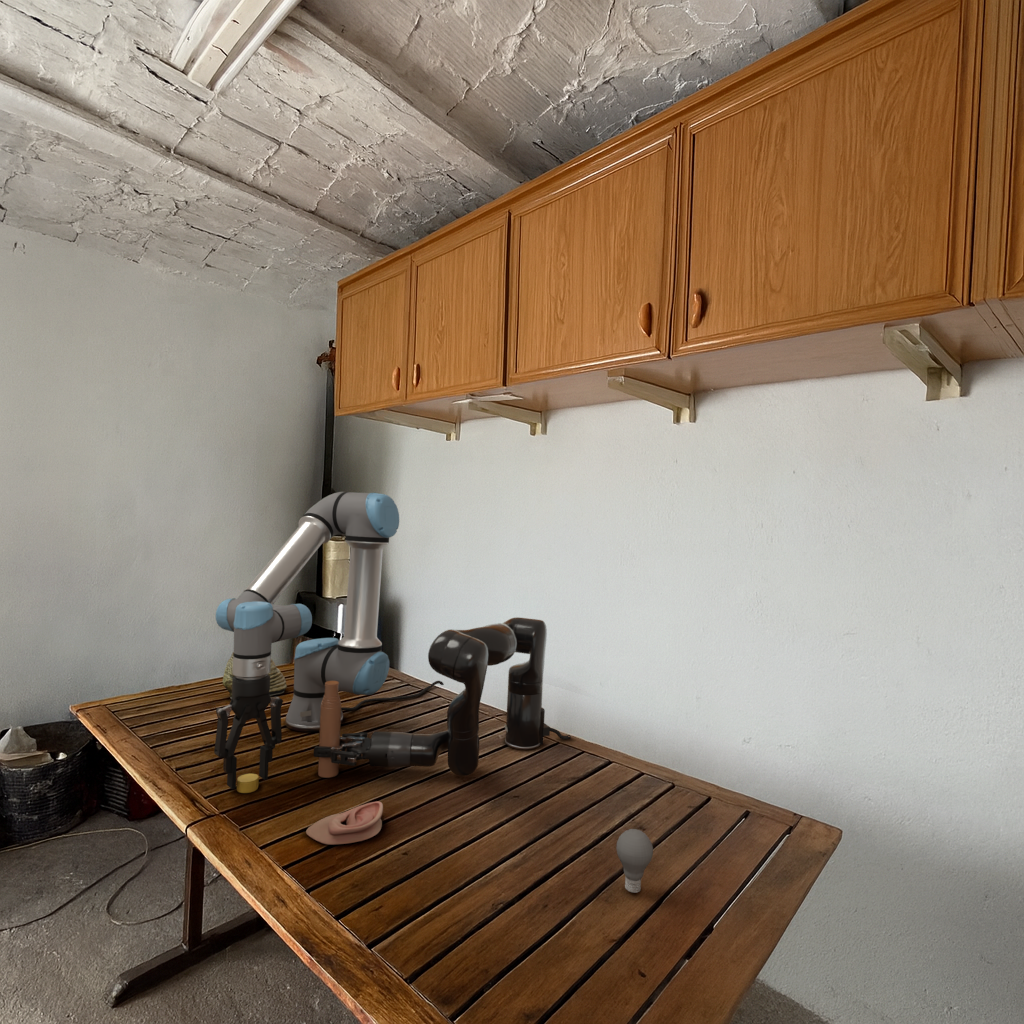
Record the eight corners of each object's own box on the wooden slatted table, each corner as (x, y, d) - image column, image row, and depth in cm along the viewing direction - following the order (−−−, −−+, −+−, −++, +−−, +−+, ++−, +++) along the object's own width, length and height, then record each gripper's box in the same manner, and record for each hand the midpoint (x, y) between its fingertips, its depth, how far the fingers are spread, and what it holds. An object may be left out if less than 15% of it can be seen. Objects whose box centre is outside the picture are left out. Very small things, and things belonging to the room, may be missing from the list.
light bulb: (610, 879, 108) (613, 822, 108) (644, 879, 109) (647, 822, 109) (619, 902, 102) (622, 840, 102) (655, 901, 103) (658, 840, 103)
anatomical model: (298, 818, 116) (328, 791, 128) (297, 839, 116) (327, 810, 128) (365, 829, 114) (390, 800, 125) (364, 851, 114) (389, 820, 125)
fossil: (218, 695, 195) (220, 647, 195) (278, 685, 208) (279, 640, 207) (228, 703, 189) (230, 653, 188) (289, 692, 201) (290, 645, 201)
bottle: (343, 772, 146) (346, 682, 145) (327, 779, 142) (330, 686, 142) (329, 767, 148) (333, 678, 148) (313, 774, 144) (317, 682, 144)
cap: (259, 783, 139) (260, 772, 138) (256, 792, 134) (256, 781, 134) (238, 784, 138) (239, 773, 138) (234, 793, 133) (235, 782, 133)
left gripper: (211, 687, 126) (207, 802, 127) (301, 671, 140) (298, 775, 140) (197, 678, 131) (194, 788, 132) (286, 664, 145) (282, 764, 146)
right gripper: (397, 722, 153) (325, 719, 152) (387, 745, 138) (308, 742, 138) (396, 753, 153) (324, 750, 152) (386, 779, 138) (307, 777, 138)
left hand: (247, 781), depth 136 cm, fingers open, 6 cm apart
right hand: (317, 747), depth 145 cm, fingers closed on bottle, 4 cm apart
